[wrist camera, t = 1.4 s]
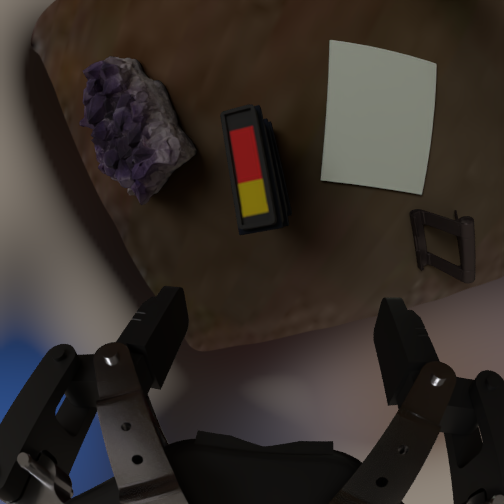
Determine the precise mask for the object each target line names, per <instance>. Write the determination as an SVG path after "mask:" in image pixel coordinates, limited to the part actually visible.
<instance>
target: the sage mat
mask: <svg viewBox="0 0 504 504" xmlns="http://www.w3.org/2000/svg"><path fill="white" fill-rule="evenodd" d="M435 91H436V64H435V63H432V62H429V61H426V60H422V59H419V58H416V57H412V56H409V55H405V54H401V53H397V52H393V51H389V50H384V49H380V48H375V47H370V46H365V45H360V44H354V43H348V42H342V41H335V40H330V44H329V73H328V93H327V109H326V123H325V136H324V148H323V159H322V169H321V180H322V181H331V182H340V183H348V184H356V185H363V186H370V187H377V188H384V189H391V190H397V191H403V192H409V193H415V194H420V195H422V191H423V186H424V181H425V176H426V170H427V164H428V157H429V151H430V143H431V135H432V127H433V117H434V106H435Z"/></svg>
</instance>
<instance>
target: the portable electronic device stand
mask: <svg viewBox="0 0 504 504" xmlns="http://www.w3.org/2000/svg"><path fill="white" fill-rule="evenodd" d="M455 218H456V220H452V219H449V218H446V217H443V216H440V215H437V214H433V213H430V212H427V211H424V210H421V209H415V210H412V211H411V212H410V219H411V224H412V230H413V236H414V242H415V249H416V256H417V263H418V268H419V269H420V270H421V271H422V270H424V268H423V266H425V265H426V264H428V265H432V266H434V267H436V268H438V269H439V270H441V271H443V272H445V273H447V274H449V275H451V276H453V277H455V278H457V279H458V280H460V281H462V282H464V283H472V282H473V281H474V280H475V230H474V219H473V218H472V217H469V216H464V217H461V218H459V219H458V216H457V211H456V210H455ZM423 224H424V225H425V224H426V225H429V226H432V227H435V228H437V229H440V230H443V231H445V232H448V233H451V234H453V235H456V236H457V240H458V247H459V255H460V263H461V265H460V266H457V265H454V264H452V263H450V262H448V261H446V260H444V259H442V258H440V257H438V256H436V255H433V254H431V253H429V252H427V249H426V241H425V234H424V227H423Z"/></svg>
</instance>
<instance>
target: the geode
mask: <svg viewBox="0 0 504 504" xmlns="http://www.w3.org/2000/svg"><path fill="white" fill-rule="evenodd" d="M83 73H84V74H85V76H86V78H87V79H88V82H87V88H85V89H84V96H83V104H84V105H85V109H84V117H85V118H83V119H82V120H81V121H80V126H82V127H85V126H86V127H89V128H91V129H94V130H93V132H92V134H91V136H92V137H94V139H92V142H93V143H94V144H95V150H96V155H97V161H98V162H99V163H100V165H99V166H98V169H99V170H100V171H101V172H102V173H104V174H106V175H108V176H110V177H111V179H113V180H115V181H119V183H120V185H121V186H122V187H124V188H128V193H129V195H136V196H137V198H138V201H139V202H140V204H141V205H143V204H145V203H147V202H148V201H149V199H150V197H151V196H152V195H153V194H155V193H158V192H159V190H160V189H161V188H162V186H163V185H164V184H165V183H166V182H167V180H168V178H169V176H170V175H171V174H172V173H173V172H174V171H175V170H176V169H178V168H179V167H180V166H181V165H183V164H185V163H186V162H187V161H189V160H190V159H191V158H192V157H193V156H194V155H196V152H197V150H196V148H195V146H194V144H193V142H192V141H191V140H190V138H189V137H188V136H187V135H186V134H185V133H184V131H183V130H182V129H181V127H180V126H179V125H178V120H177V115H176V112H175V111H174V110H173V107H172V104H171V102H170V100H169V96H168V92H167V90H166V87H165V86H164V85H163V83H162V82H160V81H159V80H157V81H153V80H152V79H150V78H148V77H147V75H146V74H145V73H144V72H143V70H142V67H141V64H140V62H139V61H138V60H136V59H130V58H126V59H121V58H118V57H112V56H110V57H109V58H106V59H105V60H104V61H99V62H96V63H94V64H92V65H90V66H89V67H88V68H86V69H85V70H83Z"/></svg>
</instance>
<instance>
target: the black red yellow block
mask: <svg viewBox="0 0 504 504" xmlns="http://www.w3.org/2000/svg"><path fill="white" fill-rule="evenodd" d="M221 122H222V129H223V135H224V142H225V148H226V154H227V161H228V167H229V174H230V180H231V186H232V193H233V199H234V205H235V211H236V217H237V224H238V230H239V235H245V234H250V233H256V232H262V231H267V230H273V229H279V228H283V226H288V225H289V221H288V216H290V215H291V214H292V211H291V206H290V202H289V197H288V192H287V188H286V183H285V179H284V174H283V170H282V165H281V161H280V157H279V152H278V148H277V144H276V140H275V136H274V131H273V127H272V123H271V121H270V122H268V120H267V119H263V116H262V111H261V108H260V106H259V105H258V106H253V105H250V104H249V105H245V106H242V107H238V108H234V109H230V110H227V111H223V112H222V113H221Z"/></svg>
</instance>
